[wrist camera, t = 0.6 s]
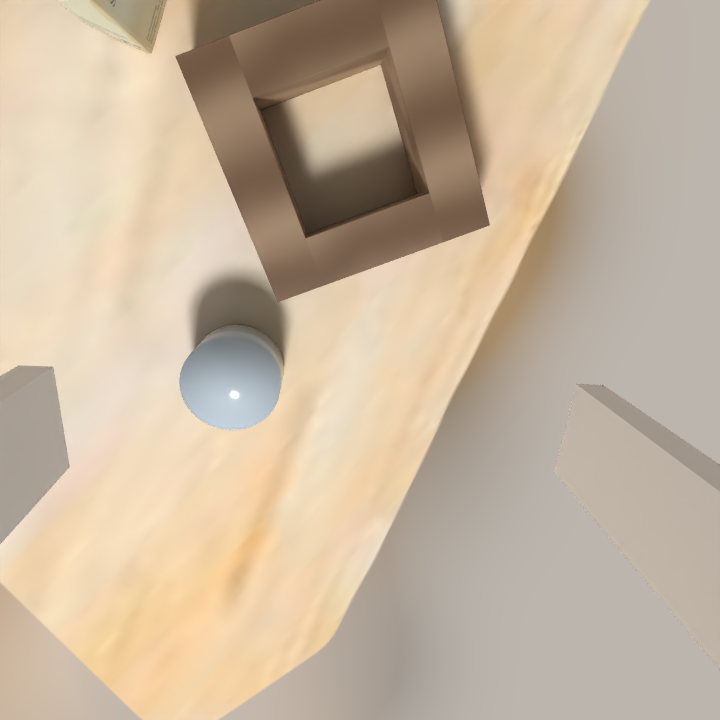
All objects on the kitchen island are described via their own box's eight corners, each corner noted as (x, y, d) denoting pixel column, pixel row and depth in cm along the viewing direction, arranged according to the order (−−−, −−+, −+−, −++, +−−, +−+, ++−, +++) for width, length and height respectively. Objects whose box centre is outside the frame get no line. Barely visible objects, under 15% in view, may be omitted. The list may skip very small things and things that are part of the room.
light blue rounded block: (178, 342, 36) (161, 359, 32) (263, 311, 35) (256, 324, 32) (217, 418, 38) (206, 442, 34) (297, 390, 38) (294, 411, 34)
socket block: (193, 74, 30) (175, 56, 26) (413, -10, 29) (426, -41, 26) (282, 290, 35) (277, 302, 31) (471, 222, 34) (489, 225, 31)
